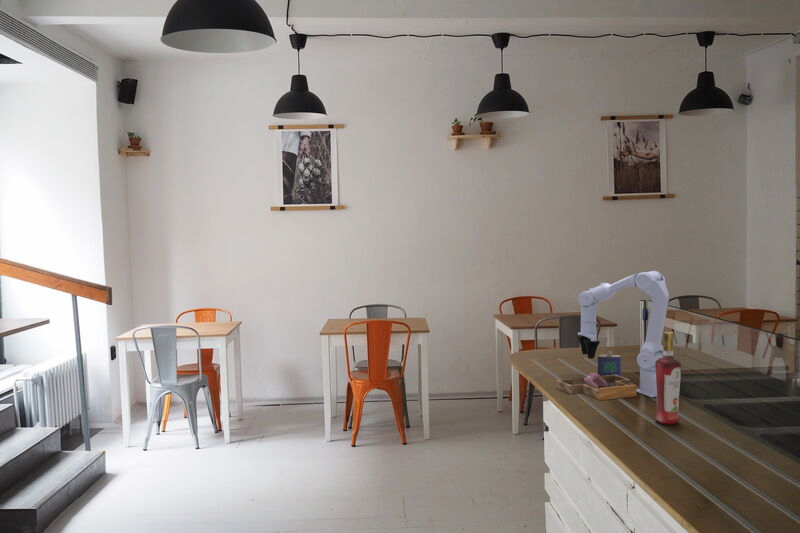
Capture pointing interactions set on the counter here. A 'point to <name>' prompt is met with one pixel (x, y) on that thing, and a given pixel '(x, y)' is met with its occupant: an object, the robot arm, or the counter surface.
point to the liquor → (668, 383)
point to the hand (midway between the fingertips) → (588, 356)
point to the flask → (609, 364)
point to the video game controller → (595, 380)
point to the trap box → (616, 390)
